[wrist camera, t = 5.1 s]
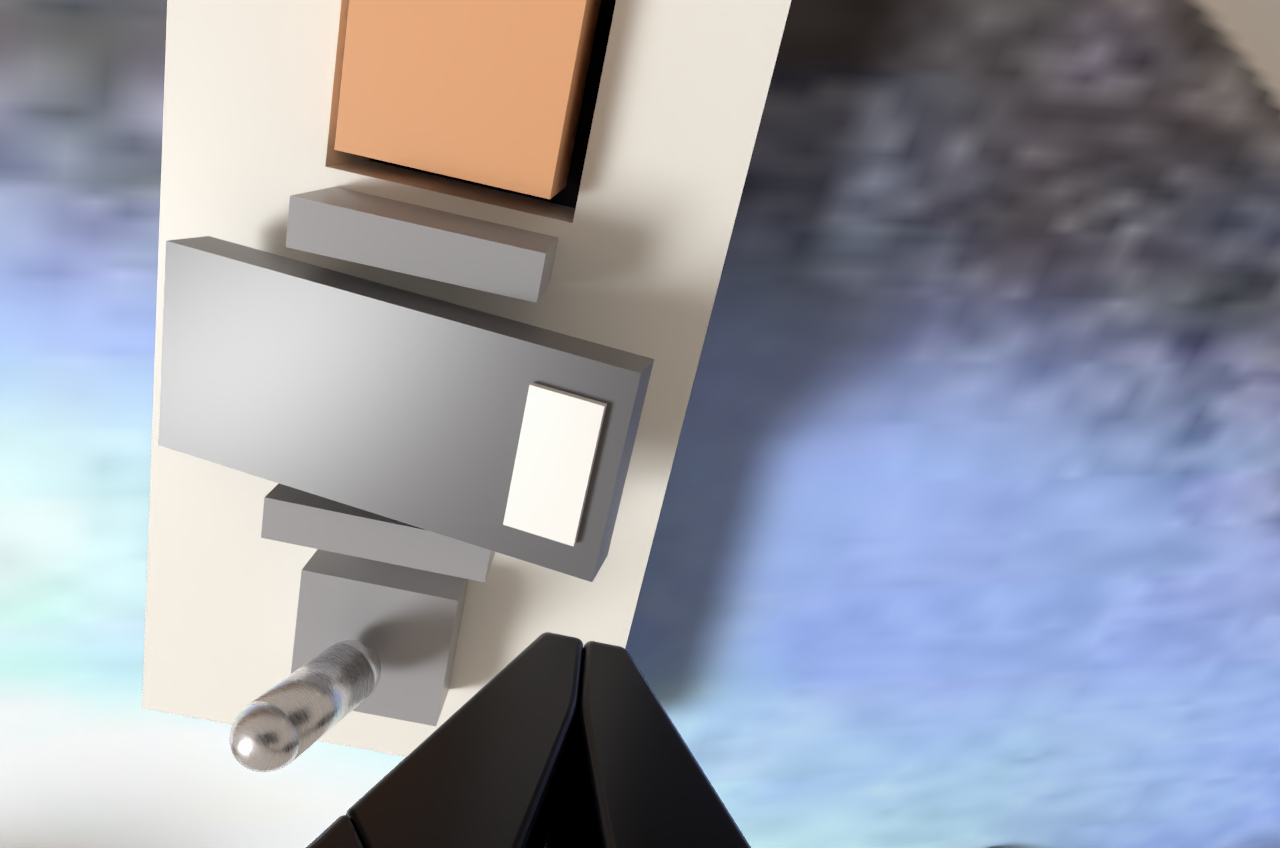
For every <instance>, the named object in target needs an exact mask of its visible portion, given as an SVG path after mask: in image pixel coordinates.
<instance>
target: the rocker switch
mask: <svg viewBox="0 0 1280 848" xmlns="http://www.w3.org/2000/svg"><path fill="white" fill-rule="evenodd" d="M653 363H654V359H652V358H648V357H644V356H641V355H637V354H634V353H630V352H626V351H623V350H619V349H616V348H612V347H608V346H605V345H601V344H597V343H594V342H590V341H587V340H583V339H579V338H576V337H572V336H569V335H565V334H561V333H558V332H554V331H550V330H547V329H543V328H540V327H536V326H532V325H529V324H525V323H522V322H518V321H514V320H511V319H507V318H503V317H500V316H496V315H493V314H489V313H485V312H482V311H478V310H475V309H471V308H467V307H464V306H460V305H456V304H453V303H449V302H446V301H442V300H438V299H435V298H431V297H428V296H424V295H420V294H417V293H413V292H409V291H406V290H402V289H399V288H395V287H391V286H388V285H384V284H381V283H377V282H373V281H370V280H366V279H362V278H359V277H355V276H352V275H348V274H344V273H341V272H337V271H334V270H330V269H326V268H323V267H319V266H315V265H312V264H308V263H305V262H301V261H297V260H294V259H290V258H287V257H283V256H279V255H276V254H272V253H268V252H265V251H261V250H258V249H254V248H250V247H247V246H243V245H240V244H236V243H232V242H229V241H225V240H221V239H218V238H214V237H211V236H204V237H195V238H186V239H177V240H168V241H166V256H165V282H164V308H163V334H162V360H161V386H160V412H159V439H158V445H159V446H163V447H166V448H169V449H172V450H175V451H178V452H182V453H185V454H188V455H191V456H194V457H197V458H200V459H204V460H207V461H210V462H213V463H216V464H219V465H223V466H226V467H229V468H232V469H235V470H238V471H242V472H245V473H248V474H251V475H254V476H257V477H261V478H264V479H267V480H270V481H273V482H276V483H280V484H283V485H286V486H289V487H292V488H295V489H299V490H302V491H305V492H308V493H311V494H314V495H318V496H321V497H324V498H327V499H330V500H333V501H337V502H340V503H343V504H346V505H349V506H352V507H356V508H359V509H362V510H365V511H368V512H371V513H375V514H378V515H381V516H384V517H387V518H390V519H394V520H397V521H400V522H403V523H406V524H409V525H412V526H416V527H419V528H422V529H425V530H428V531H431V532H435V533H438V534H441V535H444V536H447V537H450V538H454V539H457V540H460V541H463V542H466V543H469V544H473V545H476V546H479V547H482V548H485V549H488V550H492V551H495V552H498V553H501V554H504V555H507V556H511V557H514V558H517V559H520V560H523V561H526V562H530V563H533V564H536V565H539V566H542V567H545V568H549V569H552V570H555V571H558V572H561V573H564V574H568V575H571V576H574V577H577V578H580V579H583V580H587V581H590V582H593V580H594V578H595V577H596V575H597V573H598V571H599V570H600V568H601V566H602V565H603V563H604V561H605V559H606V558H607V556H608V552H609V547H610V543H611V539H612V535H613V531H614V526H615V522H616V518H617V514H618V510H619V505H620V501H621V497H622V493H623V489H624V484H625V480H626V476H627V472H628V468H629V463H630V459H631V455H632V451H633V447H634V442H635V438H636V434H637V430H638V426H639V421H640V417H641V413H642V409H643V405H644V400H645V396H646V392H647V388H648V384H649V379H650V375H651V371H652V367H653Z"/></svg>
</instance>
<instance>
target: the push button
mask: <svg viewBox="0 0 1280 848" xmlns="http://www.w3.org/2000/svg"><path fill="white" fill-rule="evenodd" d="M600 4H601V0H349V7H348V17H347V27H346V38H345V48H344V58H343V68H342V78H341V88H340V98H339V108H338V118H337V128H336V138H335V148H334V150H338V151H342V152H346V153H351V154H355V155H359V156H364V157H368V158H372V159H377V160H381V161H385V162H390V163H394V164H398V165H403V166H407V167H411V168H416V169H420V170H424V171H429V172H433V173H437V174H442V175H446V176H450V177H455V178H459V179H463V180H468V181H472V182H476V183H481V184H485V185H489V186H494V187H498V188H502V189H507V190H511V191H515V192H520V193H524V194H528V195H533V196H537V197H541V198H546V199H551V198H552V197H554V196H555V195H556V194H557V193H559V192H560V191H561V190H563V189H564V188H565V187H566V184H567V179H568V174H569V168H570V163H571V158H572V152H573V147H574V142H575V137H576V131H577V126H578V121H579V115H580V110H581V105H582V100H583V94H584V89H585V84H586V78H587V73H588V68H589V63H590V57H591V52H592V47H593V41H594V36H595V31H596V26H597V20H598V15H599V10H600Z"/></svg>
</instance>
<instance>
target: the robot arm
mask: <svg viewBox="0 0 1280 848" xmlns="http://www.w3.org/2000/svg"><path fill="white" fill-rule="evenodd" d="M306 848H751V847H750V845H749V844H748V842H747V840H746V839H745V837H744V836H743V834H742V833H741V831H740V829H739V828H738V826H737V825H736V823H735V821H734V820H733V818H732V817H731V815H730V813H729V812H728V810H727V809H726V807H725V805H724V804H723V802H722V801H721V799H720V798H719V796H718V794H717V793H716V791H715V790H714V788H713V786H712V785H711V783H710V782H709V780H708V778H707V777H706V775H705V774H704V772H703V770H702V769H701V767H700V766H699V764H698V763H697V761H696V759H695V758H694V756H693V755H692V753H691V751H690V750H689V748H688V747H687V745H686V743H685V742H684V740H683V739H682V737H681V735H680V734H679V732H678V731H677V729H676V727H675V726H674V724H673V723H672V721H671V720H670V718H669V716H668V715H667V713H666V712H665V710H664V708H663V707H662V705H661V704H660V702H659V700H658V699H657V697H656V696H655V694H654V692H653V691H652V689H651V688H650V686H649V685H648V683H647V681H646V680H645V678H644V677H643V675H642V673H641V672H640V670H639V669H638V667H637V665H636V664H635V662H634V661H633V659H632V657H631V656H630V654H629V653H628V651H627V650H626V649H625V648H623V647H621V646H616V645H610V644H605V643H600V642H595V641H589V642H587V643H586V644H585V645H584V647H583V643H582V641H581V640H580V639H578V638H575V637H570V636H565V635H560V634H555V633H550V632H545V633H542V634H541V635H540V636H539V637H538V638H537V639H535V640H534V641H533V642H532V643H531V644H530V645H529V646H528V647H527V648H526V649H524V650H523V651H522V652H521V653H520V654H519V655H518V656H517V657H516V658H515V659H513V660H512V661H511V662H510V663H509V664H508V665H507V666H506V667H505V668H504V669H502V670H501V671H500V672H499V673H498V674H497V675H496V676H495V677H494V678H493V679H492V680H490V681H489V682H488V683H487V684H486V685H485V686H484V687H483V688H482V689H481V690H479V691H478V692H477V693H476V694H475V695H474V696H473V697H472V698H471V699H470V700H468V701H467V702H466V703H465V704H464V705H463V706H462V707H461V708H460V709H459V710H457V711H456V712H455V713H454V714H453V715H452V716H451V717H450V718H449V719H448V720H446V721H445V722H444V723H443V724H442V725H441V726H440V727H439V728H438V729H437V730H435V731H434V732H433V733H432V734H431V735H430V736H429V737H428V738H427V739H426V740H424V741H423V742H422V743H421V744H420V745H419V746H418V747H417V748H416V749H415V750H414V751H412V752H411V753H410V754H409V755H408V756H407V757H406V758H405V759H404V760H403V761H401V762H400V763H399V764H398V765H397V766H396V767H395V768H394V769H393V770H392V771H390V772H389V773H388V774H387V775H386V776H385V777H384V778H383V779H382V780H381V781H379V782H378V783H377V784H376V785H375V786H374V787H373V788H372V789H371V790H370V791H368V792H367V793H366V794H365V795H364V796H363V797H362V798H361V799H360V800H359V801H357V802H356V803H355V804H354V805H353V806H352V807H351V808H350V809H349V810H348V811H347V813H346V815H343V816H341V817H339V818H338V819H337V820H336V821H335V822H334V823H333V824H332V825H330V826H329V827H328V828H327V829H326V830H325V831H324V832H323V833H322V834H321V835H320V836H319V837H317V838H316V839H315V840H314V841H313V842H312V843H311V844H310V845H309V846H307V847H306Z"/></svg>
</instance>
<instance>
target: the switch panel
mask: <svg viewBox="0 0 1280 848" xmlns="http://www.w3.org/2000/svg"><path fill="white" fill-rule="evenodd" d="M790 4H791V0H616V3H615V8H614V13H613V19H612V24H611V29H610V34H609V39H608V44H607V49H606V55H605V60H604V65H603V70H602V75H601V80H600V85H599V91H598V96H597V101H596V106H595V111H594V116H593V121H592V127H591V132H590V137H589V142H588V147H587V152H586V157H585V163H584V168H583V173H582V178H581V183H580V188H579V194H578V199H577V204H576V208H573V207H568V206H564V205H560V204H555V203H551V202H547V201H542V200H538V199H534V198H529V197H525V196H521V195H516V194H512V193H508V192H503V191H499V190H495V189H490V188H486V187H482V186H477V185H473V184H469V183H464V182H460V181H456V180H451V179H447V178H443V177H438V176H434V175H430V174H425V173H421V172H417V171H412V170H408V169H404V168H399V167H395V166H391V165H386V164H382V163H378V162H373V161H369V160H370V158H368V157H364V156H359V155H355V154H351V153H346V152H342V151H338V150H334V148H335V138H336V128H337V118H338V108H339V98H340V88H341V78H342V68H343V58H344V48H345V38H346V27H347V17H348V7H349V0H167V27H166V55H165V84H164V112H163V140H162V168H161V196H160V224H159V252H158V281H157V309H156V337H155V365H154V393H153V421H152V449H151V478H150V506H149V534H148V562H147V590H146V618H145V646H144V674H143V703H142V708H145V709H150V710H156V711H161V712H166V713H172V714H177V715H183V716H188V717H193V718H199V719H204V720H210V721H215V722H220V723H226V724H231V725H233V723H234V720H235V718H236V717H237V715H238V714H239V713H240V712H241V710H242V709H243V708H244V707H246V706H247V705H248V704H249V703H251V702H252V701H253V700H255V699H256V698H258V697H259V696H261V695H262V694H263V693H265V692H266V691H268V690H269V689H270V688H272V687H273V686H275V685H276V684H277V683H279V682H280V681H282V680H283V679H284V678H286V677H287V676H289V675H290V674H291V673H293V672H294V671H296V670H297V669H299V668H300V667H301V666H303V665H304V664H306V663H307V662H308V661H310V660H311V659H313V658H314V657H315V656H317V655H318V654H320V653H321V652H322V651H324V650H325V649H327V648H328V647H330V646H331V645H333V644H335V643H337V642H340V641H343V640H358V641H361V642H364V643H366V644H367V645H369V646H370V647H372V649H373V650H374V651H375V652H376V653H377V655H378V657H379V660H380V664H381V676H380V680H379V683H378V685H377V687H376V689H375V690H374V691H373V693H372V694H371V695H370V696H369V697H368V698H367V699H365V700H364V701H363V702H362V703H361V704H359V705H358V706H357V707H356V708H355V709H354V710H352V711H351V712H350V713H349V714H348V715H346V716H345V717H344V718H343V719H342V720H341V721H339V722H338V723H337V724H336V725H335V726H333V727H332V728H331V729H330V730H329V731H327V732H326V733H325V734H324V735H323V736H322V737H320V738H319V739H318V741H323V742H328V743H334V744H339V745H345V746H350V747H355V748H361V749H366V750H372V751H377V752H382V753H388V754H393V755H399V756H404V757H407V756H408V755H409V754H410V753H411V752H412V751H414V750H415V749H416V748H417V747H418V746H419V745H420V744H421V743H422V742H423V741H424V740H426V739H427V738H428V737H429V736H430V735H431V734H432V733H433V732H434V731H435V730H437V729H438V728H439V727H440V726H441V725H442V724H443V723H444V722H445V721H446V720H448V719H449V718H450V717H451V716H452V715H453V714H454V713H455V712H456V711H457V710H459V709H460V708H461V707H462V706H463V705H464V704H465V703H466V702H467V701H468V700H470V699H471V698H472V697H473V696H474V695H475V694H476V693H477V692H478V691H479V690H481V689H482V688H483V687H484V686H485V685H486V684H487V683H488V682H489V681H490V680H492V679H493V678H494V677H495V676H496V675H497V674H498V673H499V672H500V671H501V670H502V669H504V668H505V667H506V666H507V665H508V664H509V663H510V662H511V661H512V660H513V659H515V658H516V657H517V656H518V655H519V654H520V653H521V652H522V651H523V650H524V649H526V648H527V647H528V646H529V645H530V644H531V643H532V642H533V641H534V640H535V639H537V638H538V637H539V636H540V635H541V634H542V633H545V632H550V633H555V634H560V635H565V636H570V637H575V638H578V639H580V640H581V641H582V643H583V647H584V645H585V644H586V643H587V642H589V641H595V642H600V643H605V644H610V645H616V646H621V647H623V648H626V644H627V640H628V636H629V632H630V628H631V624H632V620H633V616H634V612H635V609H636V605H637V601H638V597H639V593H640V589H641V585H642V581H643V577H644V573H645V570H646V566H647V562H648V558H649V554H650V550H651V546H652V542H653V538H654V534H655V531H656V527H657V523H658V519H659V515H660V511H661V507H662V503H663V499H664V495H665V492H666V488H667V484H668V480H669V476H670V472H671V468H672V464H673V460H674V456H675V453H676V449H677V445H678V441H679V437H680V433H681V429H682V425H683V421H684V417H685V414H686V410H687V406H688V402H689V398H690V394H691V390H692V386H693V382H694V378H695V375H696V371H697V367H698V363H699V359H700V355H701V351H702V347H703V343H704V339H705V336H706V332H707V328H708V324H709V320H710V316H711V312H712V308H713V304H714V300H715V297H716V293H717V289H718V285H719V281H720V277H721V273H722V269H723V265H724V261H725V258H726V254H727V250H728V246H729V242H730V238H731V234H732V230H733V226H734V222H735V219H736V215H737V211H738V207H739V203H740V199H741V195H742V191H743V187H744V183H745V180H746V176H747V172H748V168H749V164H750V160H751V156H752V152H753V148H754V144H755V141H756V137H757V133H758V129H759V125H760V121H761V117H762V113H763V109H764V105H765V102H766V98H767V94H768V90H769V86H770V82H771V78H772V74H773V70H774V66H775V63H776V59H777V55H778V51H779V47H780V43H781V39H782V35H783V31H784V27H785V24H786V20H787V16H788V12H789V8H790ZM204 236H211V237H214V238H218V239H221V240H225V241H229V242H232V243H236V244H240V245H243V246H247V247H250V248H254V249H258V250H261V251H265V252H268V253H272V254H276V255H279V256H283V257H287V258H290V259H294V260H297V261H301V262H305V263H308V264H312V265H315V266H319V267H323V268H326V269H330V270H334V271H337V272H341V273H344V274H348V275H352V276H355V277H359V278H362V279H366V280H370V281H373V282H377V283H381V284H384V285H388V286H391V287H395V288H399V289H402V290H406V291H409V292H413V293H417V294H420V295H424V296H428V297H431V298H435V299H438V300H442V301H446V302H449V303H453V304H456V305H460V306H464V307H467V308H471V309H475V310H478V311H482V312H485V313H489V314H493V315H496V316H500V317H503V318H507V319H511V320H514V321H518V322H522V323H525V324H529V325H532V326H536V327H540V328H543V329H547V330H550V331H554V332H558V333H561V334H565V335H569V336H572V337H576V338H579V339H583V340H587V341H590V342H594V343H597V344H601V345H605V346H608V347H612V348H616V349H619V350H623V351H626V352H630V353H634V354H637V355H641V356H644V357H648V358H652V359H654V363H653V367H652V371H651V375H650V379H649V384H648V388H647V392H646V396H645V400H644V405H643V409H642V413H641V417H640V421H639V426H638V430H637V434H636V438H635V442H634V447H633V451H632V455H631V459H630V463H629V468H628V472H627V476H626V480H625V484H624V489H623V493H622V497H621V501H620V505H619V510H618V514H617V518H616V522H615V526H614V531H613V535H612V539H611V543H610V547H609V552H608V556H607V558H606V559H605V561H604V563H603V565H602V566H601V568H600V570H599V571H598V573H597V575H596V577H595V578H594V580H593V582H590V581H587V580H583V579H580V578H577V577H574V576H571V575H568V574H564V573H561V572H558V571H555V570H552V569H549V568H545V567H542V566H539V565H536V564H533V563H530V562H526V561H523V560H520V559H517V558H514V557H511V556H507V555H504V554H501V553H498V552H495V551H492V550H488V549H485V548H482V547H479V546H476V545H473V544H469V543H466V542H463V541H460V540H457V539H454V538H450V537H447V536H444V535H441V534H438V533H435V532H431V531H428V530H425V529H422V528H419V527H416V526H412V525H409V524H406V523H403V522H400V521H397V520H394V519H390V518H387V517H384V516H381V515H378V514H375V513H371V512H368V511H365V510H362V509H359V508H356V507H352V506H349V505H346V504H343V503H340V502H337V501H333V500H330V499H327V498H324V497H321V496H318V495H314V494H311V493H308V492H305V491H302V490H299V489H295V488H292V487H289V486H286V485H283V484H280V483H276V482H273V481H270V480H267V479H264V478H261V477H257V476H254V475H251V474H248V473H245V472H242V471H238V470H235V469H232V468H229V467H226V466H223V465H219V464H216V463H213V462H210V461H207V460H204V459H200V458H197V457H194V456H191V455H188V454H185V453H182V452H178V451H175V450H172V449H169V448H166V447H163V446H159V445H158V439H159V412H160V386H161V360H162V334H163V308H164V282H165V256H166V241H168V240H177V239H186V238H195V237H204Z"/></svg>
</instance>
